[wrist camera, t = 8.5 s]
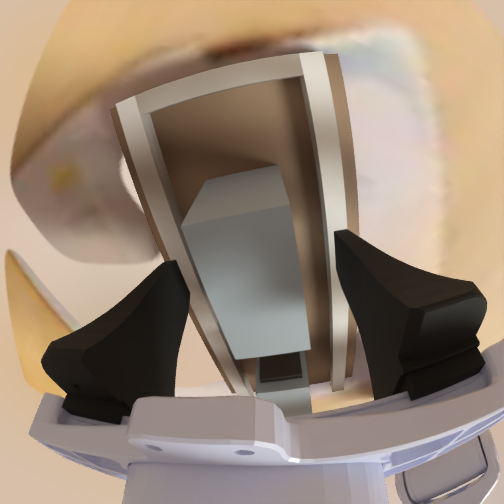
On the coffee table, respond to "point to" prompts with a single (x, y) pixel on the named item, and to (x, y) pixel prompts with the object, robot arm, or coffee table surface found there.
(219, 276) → the gripped grey block
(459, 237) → the coffee table surface
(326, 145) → the raised edge track
